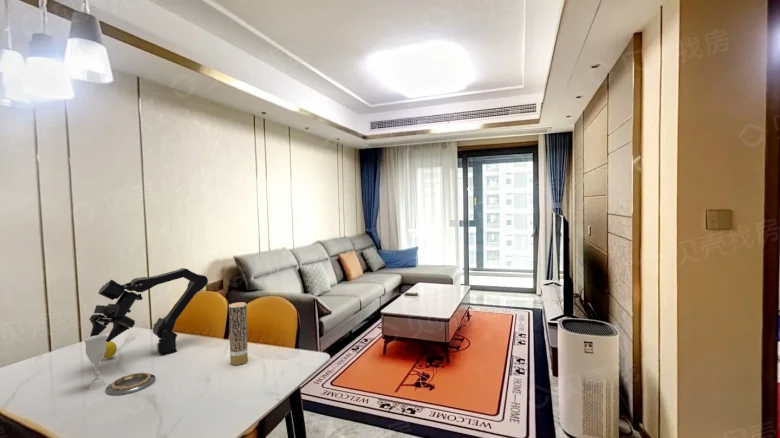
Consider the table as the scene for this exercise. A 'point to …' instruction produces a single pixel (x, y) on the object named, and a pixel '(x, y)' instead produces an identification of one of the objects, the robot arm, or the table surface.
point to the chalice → (96, 356)
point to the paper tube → (238, 333)
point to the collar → (130, 384)
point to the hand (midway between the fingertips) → (98, 341)
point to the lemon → (110, 349)
